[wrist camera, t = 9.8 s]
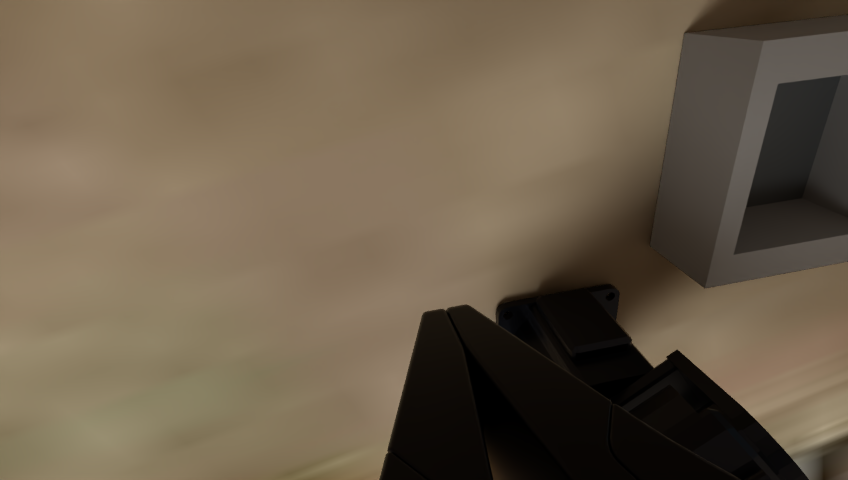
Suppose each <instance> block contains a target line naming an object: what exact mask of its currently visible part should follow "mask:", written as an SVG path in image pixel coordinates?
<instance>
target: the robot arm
mask: <svg viewBox="0 0 848 480" xmlns="http://www.w3.org/2000/svg"><path fill="white" fill-rule="evenodd" d="M608 293H610V294H609V295H608V296H606V295H607V294H608ZM618 302H619V291H618V290H617V289H616V288H615V287H614V286H613V285H611V284H606V285H601V286H595V287H590V288H583V289H578V290H572V291H567V292H561V293H556V294H550V295H545V296H540V297H535V298H529V299H524V300H518V301H513V302H507V303H503V304H501V305H500V306H499V307H498V308H497V310H496V323H495V322H493V321H492V320H490V319H489V318H487V317H486V316H484V315H483V314H481V313H480V312H478V311H477V310H475V309H474V308H472V307H471V306H469V305H460V306H455V307H449V308H448V309H447V310H446V311H445V310H444V309H438V310H432V311H427V312H424V313H423V315H422V318H421V322H420V326H419V330H418V334H417V338H416V341H415V345H414V349H413V353H412V357H411V361H410V365H409V369H408V372H407V376H406V380H405V384H404V388H403V392H402V396H401V400H400V403H399V407H398V411H397V415H396V419H395V423H394V427H393V431H392V434H391V438H390V442H389V446H388V453H387V454H386V457H385V460H384V464H383V468H382V472H381V476H380V479H379V480H809V479H808V478H807V477H806V475H805V474H804V473H803V472H802V470H801V469H800V468H799V467H798V466H797V464H796V463H795V462H794V461H793V460H792V458H791V457H790V456H789V455H788V454H787V453H786V452H785V451H784V449H783V448H782V447H781V446H780V445H779V444H778V443H777V442H776V441H775V440H774V438H773V437H772V436H771V435H770V434H769V433H768V432H767V431H766V430H765V429H764V428H763V427H762V426H761V425H760V424H759V423H758V422H757V421H756V420H755V419H754V418H753V417H752V416H751V415H750V414H749V413H748V412H747V411H746V410H745V409H744V408H743V407H742V406H741V405H740V404H739V403H738V402H736V401H735V400H734V399H733V398H732V397H731V396H730V395H728V394H727V393H726V392H725V391H724V390H723V389H722V388H720V387H719V386H718V385H717V384H716V383H715V382H714V381H713V380H711V379H710V378H709V377H708V376H707V375H706V374H705V373H703V372H702V371H701V370H700V369H699V368H698V367H697V366H695V365H694V364H693V363H692V362H691V361H690V360H689V359H687V358H686V357H685V356H684V355H683V354H682V353H681V352H680V351H678V350H676V351H674V352H673V353H671V354H670V355H668V356H667V357H666V358H667V360H665V361H664V362H662V363H661V364H659V365H658V366H657V367H655V368H654V367H653V366H652V365H651V364H650V363H649V362H648V361H647V359H646V358H645V357H644V356H643V355H642V354H641V353H640V352H639V350H638V349H637V348H636V347H635V346H634V345H633V344H632V339H631V337H630V336H629V335H628V334H627V333H626V332H625V330H624V329H623V328H622V327H621V326H620V325H619V324H618V323H617V321H616V316H617V309H618ZM508 311H510V312H509V313H508V314H507V315H504V313H505V312H508Z"/></svg>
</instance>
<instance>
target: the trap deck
mask: <svg viewBox="0 0 848 480" xmlns="http://www.w3.org/2000/svg"><path fill="white" fill-rule="evenodd" d="M650 247H652V248H653V249H654V250H656V251H657V252H658V253H660V254H661V255H662V256H663V257H665V258H666V259H667V260H669V261H670V262H671V263H673V264H674V265H675V266H676V267H678V268H679V269H680V270H682V271H683V272H684V273H686V274H687V275H688V276H689V277H691V278H692V279H693V280H695V281H696V282H697V283H699V284H700V285H701V286H702V287H704V288H710V287H715V286H721V285H726V284H731V283H737V282H742V281H747V280H753V279H758V278H763V277H769V276H774V275H779V274H785V273H790V272H795V271H801V270H806V269H811V268H817V267H822V266H827V265H833V264H838V263H843V262H848V15H840V16H831V17H822V18H814V19H805V20H796V21H787V22H778V23H769V24H761V25H752V26H743V27H734V28H725V29H716V30H708V31H699V32H690V33H684V39H683V46H682V52H681V58H680V64H679V70H678V76H677V82H676V89H675V95H674V101H673V107H672V113H671V119H670V125H669V132H668V138H667V144H666V150H665V156H664V162H663V168H662V175H661V181H660V187H659V193H658V199H657V205H656V211H655V218H654V224H653V230H652V236H651V242H650Z"/></svg>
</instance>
